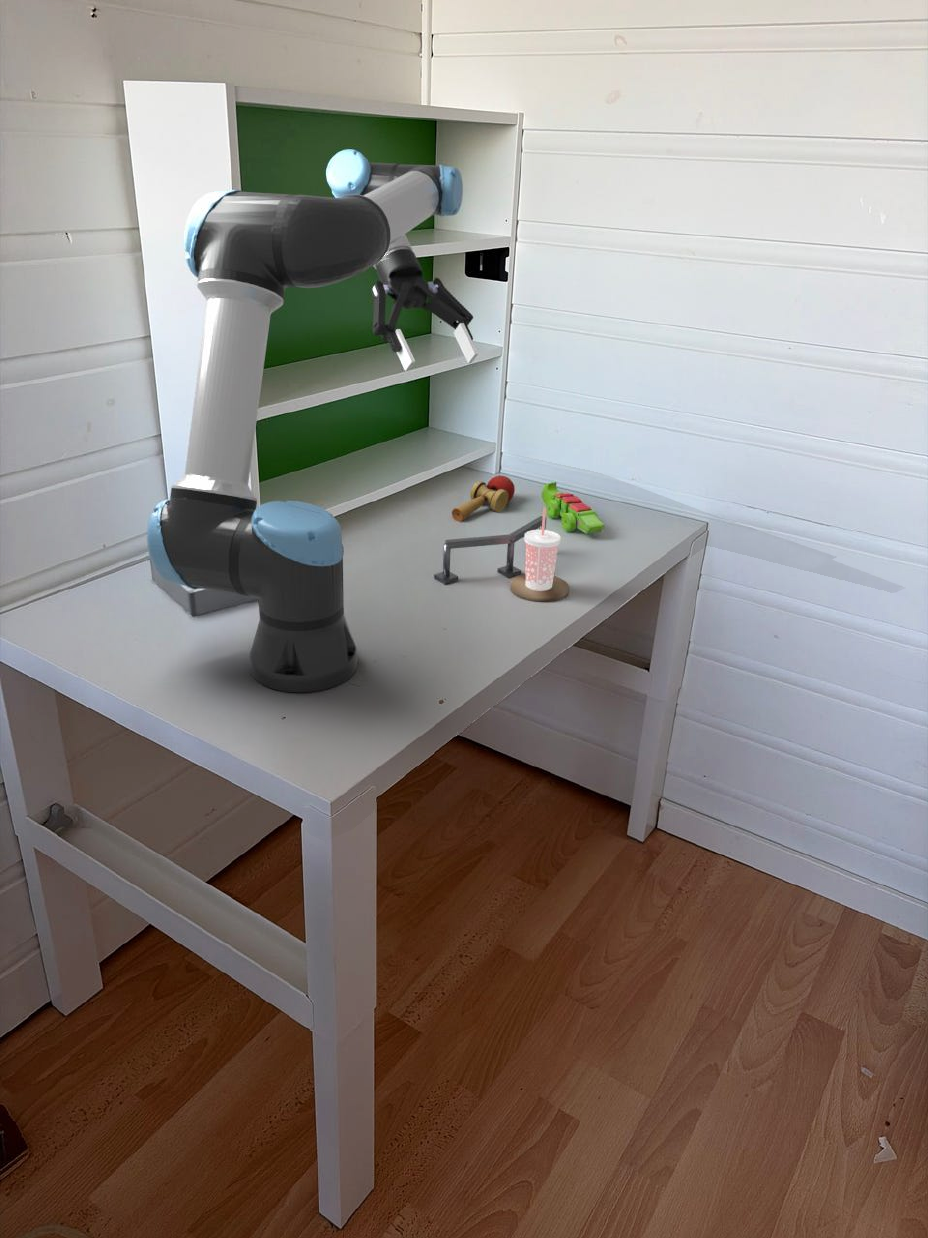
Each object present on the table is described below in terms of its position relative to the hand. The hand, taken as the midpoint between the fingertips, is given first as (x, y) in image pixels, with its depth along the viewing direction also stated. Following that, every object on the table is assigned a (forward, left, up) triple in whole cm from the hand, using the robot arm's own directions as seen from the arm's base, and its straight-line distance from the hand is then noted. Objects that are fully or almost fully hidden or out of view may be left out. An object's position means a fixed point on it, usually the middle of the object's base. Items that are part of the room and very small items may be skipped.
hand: (442, 362), depth 164 cm
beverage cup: (+2, -27, -33) cm, 42 cm away
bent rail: (+2, -17, -34) cm, 38 cm away
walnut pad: (+2, -27, -34) cm, 43 cm away
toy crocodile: (+29, -6, -34) cm, 45 cm away
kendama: (+18, +9, -34) cm, 40 cm away
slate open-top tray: (-44, +4, -34) cm, 56 cm away
